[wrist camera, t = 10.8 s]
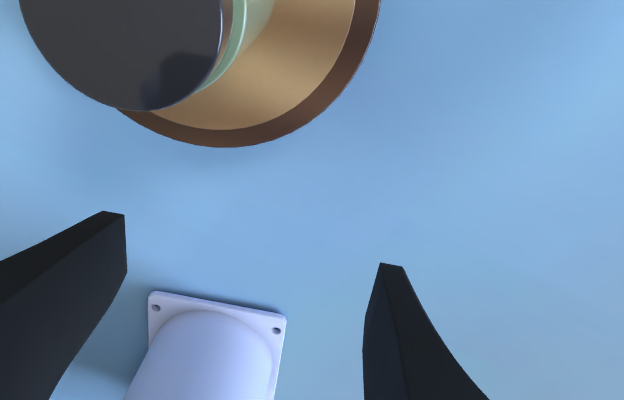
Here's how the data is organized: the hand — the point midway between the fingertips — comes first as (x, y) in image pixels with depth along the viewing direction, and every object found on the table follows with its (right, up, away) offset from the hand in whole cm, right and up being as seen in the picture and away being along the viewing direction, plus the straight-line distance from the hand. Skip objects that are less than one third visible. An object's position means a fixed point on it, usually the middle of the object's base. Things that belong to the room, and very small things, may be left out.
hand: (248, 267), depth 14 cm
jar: (-2, +10, +4) cm, 11 cm away
